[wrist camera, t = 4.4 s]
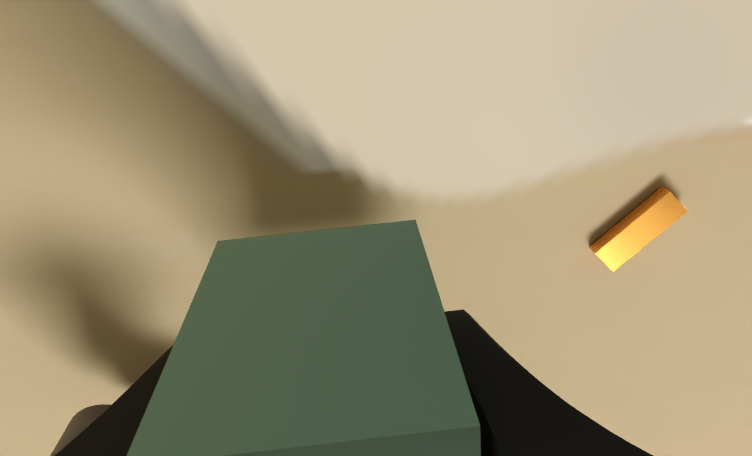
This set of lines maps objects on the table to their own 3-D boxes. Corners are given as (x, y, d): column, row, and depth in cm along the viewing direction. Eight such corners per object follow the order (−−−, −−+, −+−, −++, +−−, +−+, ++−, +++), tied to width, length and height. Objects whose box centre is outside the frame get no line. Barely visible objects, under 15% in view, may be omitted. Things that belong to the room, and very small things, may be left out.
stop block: (251, 399, 14) (197, 688, 8) (217, 240, 12) (120, 467, 7) (426, 380, 14) (486, 652, 8) (415, 220, 12) (480, 425, 7)
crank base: (360, 520, 20) (361, 535, 19) (267, 457, 19) (265, 472, 18) (711, 243, 17) (724, 253, 16) (626, 144, 15) (637, 151, 15)
